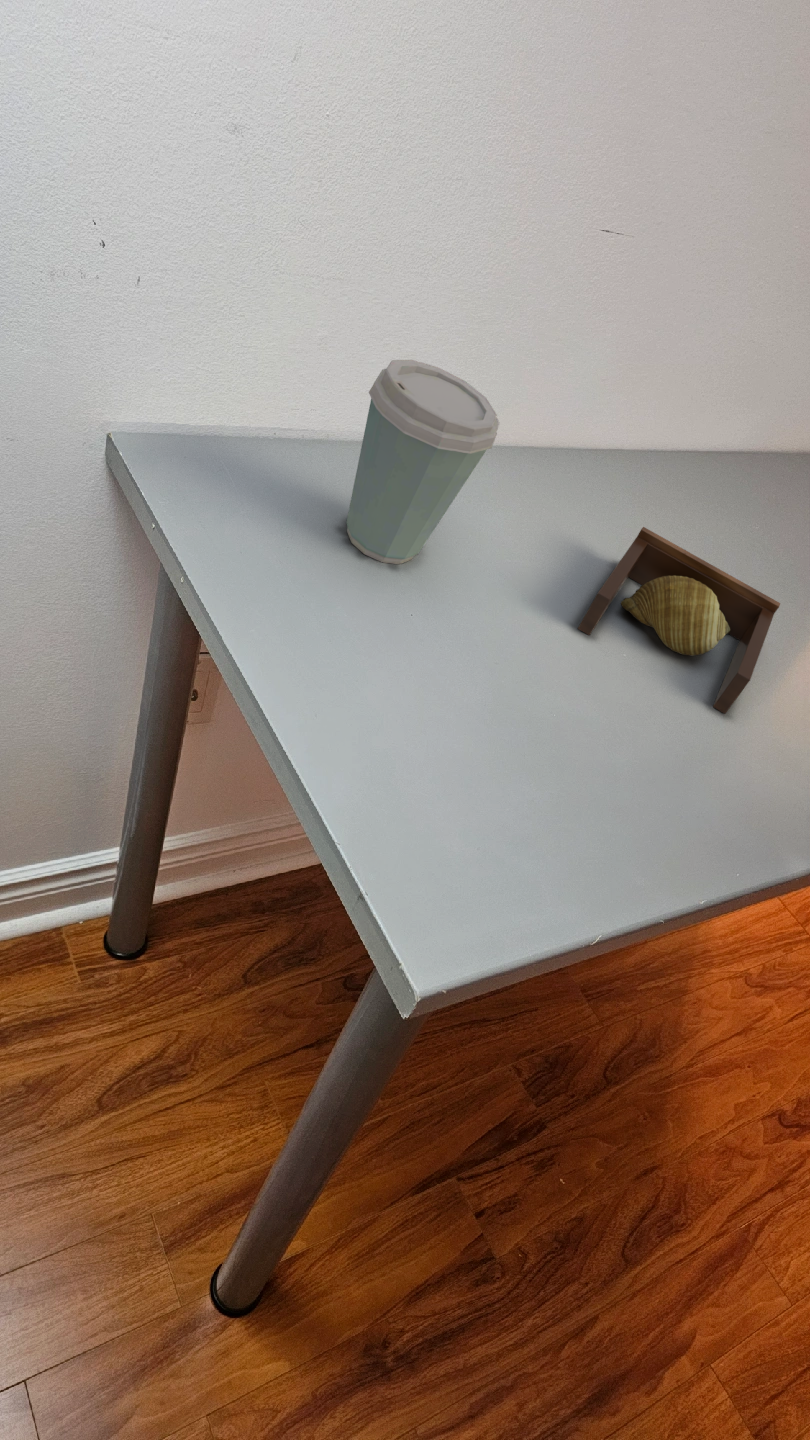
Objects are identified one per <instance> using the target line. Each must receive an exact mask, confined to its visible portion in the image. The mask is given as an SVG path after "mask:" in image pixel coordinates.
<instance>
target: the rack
mask: <svg viewBox="0 0 810 1440" xmlns="http://www.w3.org/2000/svg"><path fill="white" fill-rule="evenodd" d="M663 576H683V577H688V578H693V579H694V580H696V581H699V582H701V583H702V584H704V585H706V586H707V587H708V588H710V589H711V590H712V591H713V593H714V594H715V595H716V596H717V600H718V603H719V610H720V611H721V612H722V613H723V614H724V617H725V621H726V622H727V623H728V626H729V628H730V631H729V632H728V633H727V635H730V636H731V637H733V638H735V639H736V640H738V643H737V646H736V649H735V651H734V654H733V656H732V659H731V661H730V664H729V666H728V668H727V671H726V674H725V675H724V678H723V681H722V683H721V686H720V688H719V691H718V694H717V696H716V698H715V700H714V703H713V705H712V708H713V709H715V710H717V711H719V712H721V713H723V714H727V712H728V711H729V710H730V708H731V707H732V705H733V704H734V703H735V702H736V701H737V700H738V697H739V696H740V694H741V693H742V692H743V691H744V689H745V688H746V687H747V685H748V684H749V683H750V682H751V679H752V676H753V673H754V671H755V668H756V665H757V662H758V660H759V657H760V654H761V652H762V649H763V646H764V643H765V641H766V638H767V635H768V633H769V630H770V626H771V624H772V622H773V619H774V616H775V614H776V612H777V611H778V609H779V608H780V606H781V602H779V601H777V600H776V599H774V598H772V597H771V596H768V595H766V594H765V593H763V592H762V591H760V590H757V589H756V588H754V587H752V586H750V585H748V584H747V583H745V582H744V581H741V580H739V578H736V577H734V576H732V575H731V574H729V573H728V572H726V571H724V570H722V569H720V568H718V567H716V566H715V565H713V564H711V563H710V562H708V561H706V560H705V559H703V558H700V557H699V556H697V555H695V554H693V553H691V552H690V551H688V550H686V549H685V548H683V547H680V546H679V545H677V544H676V543H673V542H672V541H670V540H668V539H666V538H665V537H663V536H661V535H659V534H658V533H655V532H654V531H652V530H650V529H649V528H647V527H645V526H642V528H640V530H639V532H638V534H637V536H636V537H635V538H634V540H633V542H632V543H631V544H630V546H629V548H628V549H627V550H626V552H625V553H624V554H623V556H622V557H621V558H620V560H619V562H618V563H617V564H616V565H615V567H614V568H613V570H612V571H611V573H610V575H609V576H608V578H606V580H605V582H604V583H603V584H602V586H601V587H600V589H599V590H598V592H597V594H596V595H595V597H594V598H593V600H592V602H591V604H590V605H589V607H588V608H587V611H586V613H585V614H584V616H583V618H582V619H581V621H580V624H579V625H578V627H577V629H578V630H579V631H580V632H583V634H586V635H588V636H591V634H592V632H593V631H594V630H595V628H596V627H597V625H598V624H599V622H600V621H601V619H602V617H603V616H604V614H605V613H606V611H607V610H608V608H609V607H610V605H611V604H612V603H613V601H614V599H615V598H616V596H617V595H618V593H619V592H620V591H621V589H622V587H623V586H624V585H625V583H626V581H627V580H628V578H630V579H631V580H633V581H634V582H636V583H638V584H640V585H641V586H643V585H644V584H645V583H647V582H650V581H651V580H654V579H656V578H659V577H663Z"/></svg>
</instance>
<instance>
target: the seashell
mask: <svg viewBox="0 0 810 1440" xmlns="http://www.w3.org/2000/svg"><path fill="white" fill-rule="evenodd" d="M620 605H621V607H622V608H623V609H624V610H626V611H627V612H629V613H630V614H631V615H632V616H633V617H634V618H635V619H637V621H638V622H640V623H642V624H644V625H645V626H647V627H650V628H653V629H654V631H655V633H656V635H657V637H658V639H659V640H660V641H661V642H662V644H664V645H665V646H666V647H667V648H668V649H670V651H673V652H675V653H678V654H680V655H683V656H692V657H694V656H699V655H704V654H705V653H709V652H710V651H711V650H713V649H714V648H715V647H716V646H717V645H718V644H719V641H721V640H723V638H725V636H726V635H728V632H729V631H730V628H729V626H728V623H727V622H726V621H725V617H724V614H723V613H722V612H721V611H720V610H719V603H718V600H717V596H716V595H715V594H714V593H713V591H712V590H711V589H710V588H708V587H707V586H706V585H704V584H702V583H701V582H699V581H696V580H694V579H693V578H688V577H683V576H663V577H659V578H656V579H654V580H651V581H650V582H647V583H645V584H644V585H640V586H639V588H637V589H636V591H635V592H634V593H632V595H631V596H629V597H625V598H624V599H623V600H621V601H620Z"/></svg>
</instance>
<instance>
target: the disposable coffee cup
mask: <svg viewBox="0 0 810 1440" xmlns="http://www.w3.org/2000/svg"><path fill="white" fill-rule="evenodd" d="M368 394H369V396H370V403H369V407H368V412H367V418H366V423H365V427H364V432H363V438H362V442H361V448H360V453H359V457H358V462H357V468H356V473H355V477H354V483H353V487H352V491H351V496H350V501H349V508H348V513H347V517H346V522H345V524H346V527H347V529H346V532H347V535H348V538H349V541H350V543H351V544H352V545H353V546H354V547H356V549H358V550H359V551H360V552H361V553H362V554H364V555H366V556H367V557H369V558H372V559H374V560H376V561H378V562H381V563H386V564H395V565H402V564H403V563H407V562H409V561H412V560H413V558H414V557H416V556H418V555H419V554H420V552H421V550H422V549H423V548H424V546H425V545H426V543H427V541H428V540H429V539H430V537H431V535H432V534H433V532H434V531H435V529H436V528H437V526H438V525H439V523H440V522H441V520H442V519H443V517H444V515H445V514H446V513H447V511H448V509H449V508H450V507H451V505H452V503H453V502H454V500H455V499H456V497H457V496H458V494H459V493H460V491H461V490H462V489H463V487H464V486H465V484H466V482H467V481H468V480H469V478H470V476H471V474H472V473H473V471H474V470H475V468H476V467H477V465H478V464H479V463H480V461H481V459H482V458H483V456H484V455H485V454H486V452H487V450H489V449H490V450H491V449H492V448H493V446H494V443H495V440H496V438H497V435H498V429H499V427H500V420H499V419H498V414H497V412H496V411H495V409H494V408H493V406H492V404H491V403H490V402H489V400H488V398H487V397H486V396H485V395H484V394H482V393H481V392H480V391H479V390H477V389H476V388H475V387H474V386H472V385H471V383H468V382H467V381H466V380H464V379H463V378H460V377H458V376H456V375H454V374H452V373H450V372H449V371H447V370H445V369H443V368H440V367H438V366H435V365H432V364H428V363H425V362H422V361H417V360H415V359H392V360H391V361H390V363H389V364H388V365H387V367H386V368H384V369H382V370H381V371H380V372H379V374H378V376H377V377H376V379H375V381H374V382H373V385H371V387H370V389H369V390H368Z"/></svg>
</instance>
